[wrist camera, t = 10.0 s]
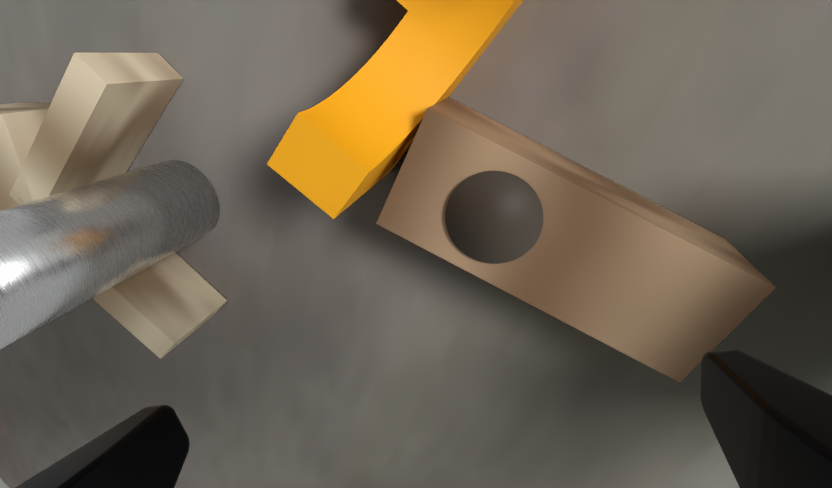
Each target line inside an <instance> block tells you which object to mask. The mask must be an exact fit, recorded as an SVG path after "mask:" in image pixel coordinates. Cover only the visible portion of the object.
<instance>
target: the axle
mask: <svg viewBox="0 0 832 488" xmlns="http://www.w3.org/2000/svg"><path fill="white" fill-rule="evenodd" d="M219 212H220V210H219V201H218V198H217V195H216V192H215V190H214V188H213V186H212V185H211V183H210V181H209V180H208V179H207V178H206V177H205V175H204V174H203V173H202V172H200V171H199V170H198V169H197V168H195V167H194V166H192V165H190V164H188V163H185V162H182V161H177V160H170V161H165V162H162V163H159V164H155V165H152V166H148V167H145V168H142V169H138V170H135V171H132V172H128V173H125V174H122V175H118V176H115V177H111V178H108V179H105V180H101V181H98V182H95V183H91V184H88V185H85V186H81V187H78V188H74V189H71V190H68V191H64V192H61V193H58V194H54V195H51V196H48V197H44V198H41V199H38V200H34V201H31V202H27V203H24V204H21V205H17V206H14V207H11V208H7V209H4V210H1V211H0V349H2V348H4V347H6V346H7V345H9V344H11V343H13V342H15V341H16V340H18V339H20V338H22V337H24V336H25V335H27V334H29V333H31V332H32V331H34V330H36V329H38V328H40V327H41V326H43V325H45V324H47V323H49V322H50V321H52V320H54V319H56V318H58V317H59V316H61V315H63V314H65V313H67V312H68V311H70V310H72V309H74V308H75V307H77V306H79V305H81V304H83V303H84V302H86V301H88V300H90V299H92V298H93V297H95V296H97V295H99V294H101V293H102V292H104V291H106V290H108V289H110V288H111V287H113V286H115V285H117V284H118V283H120V282H122V281H124V280H126V279H127V278H129V277H131V276H133V275H135V274H136V273H138V272H140V271H142V270H144V269H145V268H147V267H149V266H151V265H153V264H154V263H156V262H158V261H160V260H161V259H163V258H165V257H167V256H169V255H170V254H172V253H174V252H176V251H178V250H179V249H181V248H183V247H185V246H187V245H188V244H190V243H192V242H194V241H195V240H197V239H199V238H201V237H203V236H204V235H206V234H208V233H209V232H211V231H212V230H213V229H214V227H215V226H216V224H217V222H218V219H219Z"/></svg>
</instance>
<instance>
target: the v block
mask: <svg viewBox="0 0 832 488" xmlns="http://www.w3.org/2000/svg"><path fill="white" fill-rule="evenodd" d="M182 80H183V78H182V77H181V76H180V75H179V74H178V73H177V72H176V71H175V70H174V69H173V68H172V67H171V66H170V65H169V64H168V63H167V62H166V61H165V60H164V59H163V58H162V57H161V56H160V55H159V54H158V53H74V55H73V57H72V59H71V61H70V63H69V65H68V68H67V70H66V72H65V74H64V76H63V78H62V81H61V83H60V85H59V87H58V89H57V92H56V94H55V96H54V98H53V100H52V102H51V103H10V104H0V211H1V210H4V209H7V208H11V207H14V206H17V205H21V204H24V203H27V202H31V201H34V200H38V199H41V198H44V197H48V196H51V195H54V194H58V193H61V192H64V191H68V190H71V189H74V188H78V187H81V186H85V185H88V184H91V183H95V182H98V181H101V180H105V179H108V178H111V177H115V176H118V175H122V174H125V173H126V172H127V170H128V168H129V167H130V165H131V163H132V162H133V160H134V159H135V157H136V155H137V154H138V152H139V150H140V149H141V147H142V145H143V144H144V142H145V141H146V139H147V137H148V136H149V134H150V132H151V131H152V129H153V128H154V126H155V124H156V123H157V121H158V119H159V118H160V116H161V115H162V113H163V111H164V110H165V108H166V106H167V105H168V103H169V101H170V100H171V98H172V97H173V95H174V93H175V92H176V90H177V88H178V87H179V85H180V84H181V82H182ZM92 299H93V300H94V301H95V302H97V303H98V304H99V305H100V306H101V307H102V308H103V309H105V310H106V311H107V312H108V313H109V314H110V315H111V316H112V317H114V318H115V319H116V320H117V321H118V322H119V323H120V324H121V325H123V326H124V327H125V328H126V329H127V330H128V331H129V332H131V333H132V334H133V335H134V336H135V337H136V338H137V339H138V340H140V341H141V342H142V343H143V344H144V345H145V346H146V347H147V348H149V349H150V350H151V351H152V352H153V353H154V354H155V355H157V356H158V357H159V358H160V359H161V358H162V357H164V356H165V355H166V354H167V353H169V352H170V351H171V350H172V349H173V348H175V347H176V346H177V345H178V344H179V343H181V342H182V341H183V340H184V339H186V338H187V337H188V336H189V335H190V334H192V333H193V332H194V331H195V330H196V329H198V328H199V327H200V326H201V325H202V324H204V323H205V322H206V321H207V320H209V319H210V318H211V317H212V316H213V315H214V314H215V313H216V312H217V311H218V310H219V309H220V308H221V307H222V306H223V305H224V304H225V303H226V302H227V300H226V299H225V298H224V297H223V296H222V295H221V294H220V293H219V292H217V291H216V290H215V289H214V288H213V287H212V286H211V285H210V284H209V283H208V282H207V281H206V280H205V279H203V278H202V277H201V276H200V275H199V274H198V273H197V272H196V271H195V270H194V269H193V268H192V267H191V266H189V265H188V264H187V263H186V262H185V261H184V260H183V259H182V258H181V257H180V256H179V255H178V254H177V253H175V252H174V253H172V254H170V255H169V256H167V257H165V258H163V259H161V260H160V261H158V262H156V263H154V264H153V265H151V266H149V267H147V268H145V269H144V270H142V271H140V272H138V273H136V274H135V275H133V276H131V277H129V278H127V279H126V280H124V281H122V282H120V283H118V284H117V285H115V286H113V287H111V288H110V289H108V290H106V291H104V292H102V293H101V294H99V295H97V296H95V297H93V298H92Z"/></svg>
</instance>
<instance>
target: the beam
mask: <svg viewBox="0 0 832 488" xmlns="http://www.w3.org/2000/svg"><path fill="white" fill-rule="evenodd" d="M376 224H378V225H380V226H381V227H383V228H385V229H387V230H389V231H391V232H393V233H395V234H397V235H399V236H401V237H402V238H404V239H406V240H408V241H410V242H412V243H414V244H416V245H418V246H420V247H422V248H423V249H425V250H427V251H429V252H431V253H433V254H435V255H437V256H439V257H441V258H443V259H444V260H446V261H448V262H450V263H452V264H454V265H456V266H458V267H460V268H462V269H464V270H465V271H467V272H469V273H471V274H473V275H475V276H477V277H479V278H481V279H483V280H485V281H486V282H488V283H490V284H492V285H494V286H496V287H498V288H500V289H502V290H504V291H505V292H507V293H509V294H511V295H513V296H515V297H517V298H519V299H521V300H523V301H525V302H526V303H528V304H530V305H532V306H534V307H536V308H538V309H540V310H542V311H544V312H546V313H547V314H549V315H551V316H553V317H555V318H557V319H559V320H561V321H563V322H565V323H567V324H568V325H570V326H572V327H574V328H576V329H578V330H580V331H582V332H584V333H586V334H588V335H589V336H591V337H593V338H595V339H597V340H599V341H601V342H603V343H605V344H607V345H609V346H610V347H612V348H614V349H616V350H618V351H620V352H622V353H624V354H626V355H628V356H629V357H631V358H633V359H635V360H637V361H639V362H641V363H643V364H645V365H647V366H649V367H650V368H652V369H654V370H656V371H658V372H660V373H662V374H664V375H666V376H668V377H670V378H671V379H673V380H675V381H677V382H679V383H680V382H681V381H682V380H683V379H684V378H685V377H686V376H687V375H688V374H689V373H690V372H691V371H692V370H693V369H694V368H695V367H696V366H698V365H699V364H700V363H701V362H702V357H703V355H704V354H705V353H706V352H708V351H713V350H714V349H715V348H716V347H717V346H718V345H719V344H720V343H721V342H722V341H723V340H724V339H725V338H726V337H727V336H728V335H729V334H730V333H731V332H732V331H733V330H734V329H735V328H736V327H737V326H738V325H739V324H740V323H741V322H742V321H743V320H744V319H745V318H746V317H747V316H748V315H749V314H750V313H751V312H752V311H753V310H754V309H755V308H756V307H757V306H758V305H759V304H760V303H761V302H762V301H763V300H764V299H765V298H766V297H767V296H768V295H769V294H770V293H771V292H772V291H773V290H774V289H775V288H776V287H775V286H774V285H773V284H772V283H771V282H770V281H769V280H768V279H767V278H766V277H765V276H764V275H763V274H761V273H760V272H759V271H758V270H757V269H756V268H755V267H754V266H753V265H752V264H751V263H750V262H749V261H748V260H747V259H746V258H745V257H743V256H742V255H741V254H740V253H739V252H738V251H737V250H736V249H735V248H734V247H733V246H732V245H731V244H730V243H729V242H728V241H727V240H725V239H724V238H722V237H720V236H718V235H716V234H714V233H712V232H710V231H708V230H707V229H705V228H703V227H701V226H699V225H697V224H695V223H693V222H691V221H689V220H687V219H685V218H683V217H681V216H679V215H677V214H675V213H673V212H671V211H669V210H667V209H666V208H664V207H662V206H660V205H658V204H656V203H654V202H652V201H650V200H648V199H646V198H644V197H642V196H640V195H638V194H636V193H634V192H632V191H630V190H628V189H627V188H625V187H623V186H621V185H619V184H617V183H615V182H613V181H611V180H609V179H607V178H605V177H603V176H601V175H599V174H597V173H595V172H593V171H591V170H589V169H587V168H586V167H584V166H582V165H580V164H578V163H576V162H574V161H572V160H570V159H568V158H566V157H564V156H562V155H560V154H558V153H556V152H554V151H552V150H550V149H548V148H547V147H545V146H543V145H541V144H539V143H537V142H535V141H533V140H531V139H529V138H527V137H525V136H523V135H521V134H519V133H517V132H515V131H513V130H511V129H509V128H507V127H506V126H504V125H502V124H500V123H498V122H496V121H494V120H492V119H490V118H488V117H486V116H484V115H482V114H480V113H478V112H476V111H474V110H472V109H470V108H468V107H466V106H465V105H463V104H461V103H459V102H457V101H455V100H453V99H451V98H449V97H448V98H446V99H444V100H442V101H440V102H438V103H436V104H434V105H433V106H431V107H429V108H427V110H426V113H425V115H424V117H423V119H422V122H421V124H420V126H419V128H418V131H417V133H416V135H415V137H414V140H413V142H412V144H411V146H410V149H409V151H408V153H407V155H406V158H405V160H404V162H403V164H402V167H401V169H400V171H399V173H398V175H397V178H396V180H395V182H394V184H393V187H392V189H391V191H390V193H389V196H388V198H387V200H386V202H385V205H384V207H383V209H382V211H381V214H380V216H379V218H378V220H377V223H376Z"/></svg>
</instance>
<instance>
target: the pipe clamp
mask: <svg viewBox="0 0 832 488" xmlns="http://www.w3.org/2000/svg"><path fill="white" fill-rule="evenodd" d="M397 1H398V2H399V3H400V4H401V5H402V6H403V7H404V8H406V9H407V10H408V12H407V13H406V15H405V16H404V17H403V19H402V20H401V21H400V23H399V24H398V26H397V27H396V28H395V30H394V31H393V32H392V33H391V35H390V36H389V37H388V39H387V40H386V41H385V42H384V43H383V45H382V46H381V47H380V48H379V49H378V51H377V52H376V53H375V54H374V55H373V56H372V57H371V59H370V60H369V61H368V62H367V63H366V64H365V65H364V66H363V67H362V68H361V69H360V70H359V71H358V72H357V73H356V74H355V75H354V76H353V77H352V78H351V79H350V80H349V81H348V82H347V83H346V84H344V85H343V86H342V87H341V88H340V89H339V90H337V91H336V92H335V93H333V94H332V95H331V96H330V97H328V98H327V99H325V100H324V101H322V102H321V103H319V104H317V105H316V106H314V107H312V108H310V109H307V110H305V111H302V112H299V113H298V114H297V115H296V117H295V119H294V120H293V122H292V123H291V125H290V127H289V128H288V130H287V132H286V133H285V135H284V137H283V138H282V140H281V142H280V143H279V145H278V147H277V148H276V150H275V152H274V153H273V155H272V156H271V158H270V160H269V161H268V163H267V165H268V166H270V167H271V168H272V169H273V170H274V171H276V172H277V173H278V174H279V175H281V176H282V177H283V178H284V179H285V180H287V181H288V182H289V183H290V184H292V185H293V186H294V187H295V188H296V189H298V190H299V191H300V192H301V193H302V194H304V195H305V196H306V197H307V198H309V199H310V200H311V201H312V202H313V203H315V204H316V205H317V206H318V207H320V208H321V209H322V210H323V211H324V212H326V213H327V214H328V215H329V216H330V217H332V218H333V219H335V218H336V217H337V216H338V215H339V214H340V213H342V212H343V211H344V210H345V209H346V208H348V207H349V206H350V205H351V204H352V203H353V202H355V201H356V200H357V199H358V198H359V197H361V196H362V195H363V194H364V193H365V192H367V191H368V190H369V189H370V188H371V187H372V186H374V185H375V184H376V183H377V182H378V181H380V180H381V179H382V178H383V177H384V176H385V175H387V174H388V173H389V172H390V171H391V170H392V169H393V168H394V166H395V165H396V164H397V162H398V161H399V160H400V159H401V157H402V156H403V155H404V153H405V152H406V151H407V150H408V148H409V147H410V146H411V144H412V142H413V140H414V137H415V135H416V133H417V131H418V128H419V126H420V124H421V122H422V119H423V117H424V115H425V113H426V110H427V108H429V107H431V106H433V105H434V104H436V103H438V102H440V101H442V100H444V99H446V98H448V97H449V95H450V94H451V93H452V92H453V90H454V89H455V88H456V86H457V85H458V84H459V83H460V81H461V80H462V79H463V77H464V76H465V75H466V74H467V72H468V71H469V70H470V68H471V67H472V66H473V65H474V63H475V62H476V61H477V59H478V58H479V57H480V56H481V54H482V53H483V52H484V50H485V49H486V48H487V47H488V45H489V44H490V43H491V41H492V40H493V39H494V38H495V36H496V35H497V34H498V32H499V31H500V30H501V29H502V27H503V26H504V25H505V23H506V22H507V21H508V19H509V18H510V17H511V16H512V14H513V13H514V12H515V10H516V9H517V8H518V7H519V5H520V4H521V3H522V1H523V0H397Z"/></svg>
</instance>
